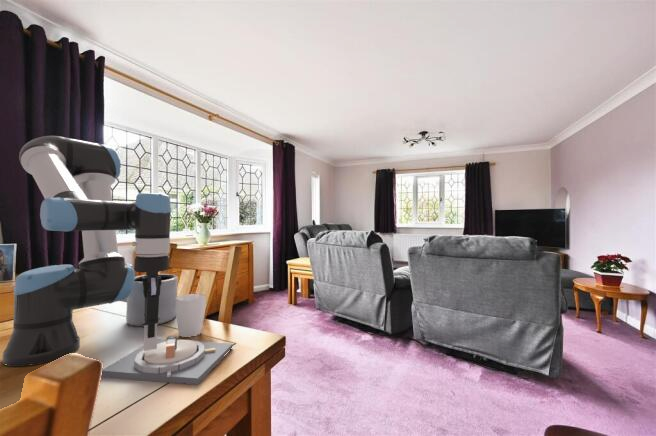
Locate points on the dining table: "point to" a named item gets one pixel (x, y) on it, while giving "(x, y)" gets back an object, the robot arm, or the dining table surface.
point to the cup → (190, 314)
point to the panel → (169, 365)
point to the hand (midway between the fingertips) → (150, 348)
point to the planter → (165, 300)
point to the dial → (171, 351)
